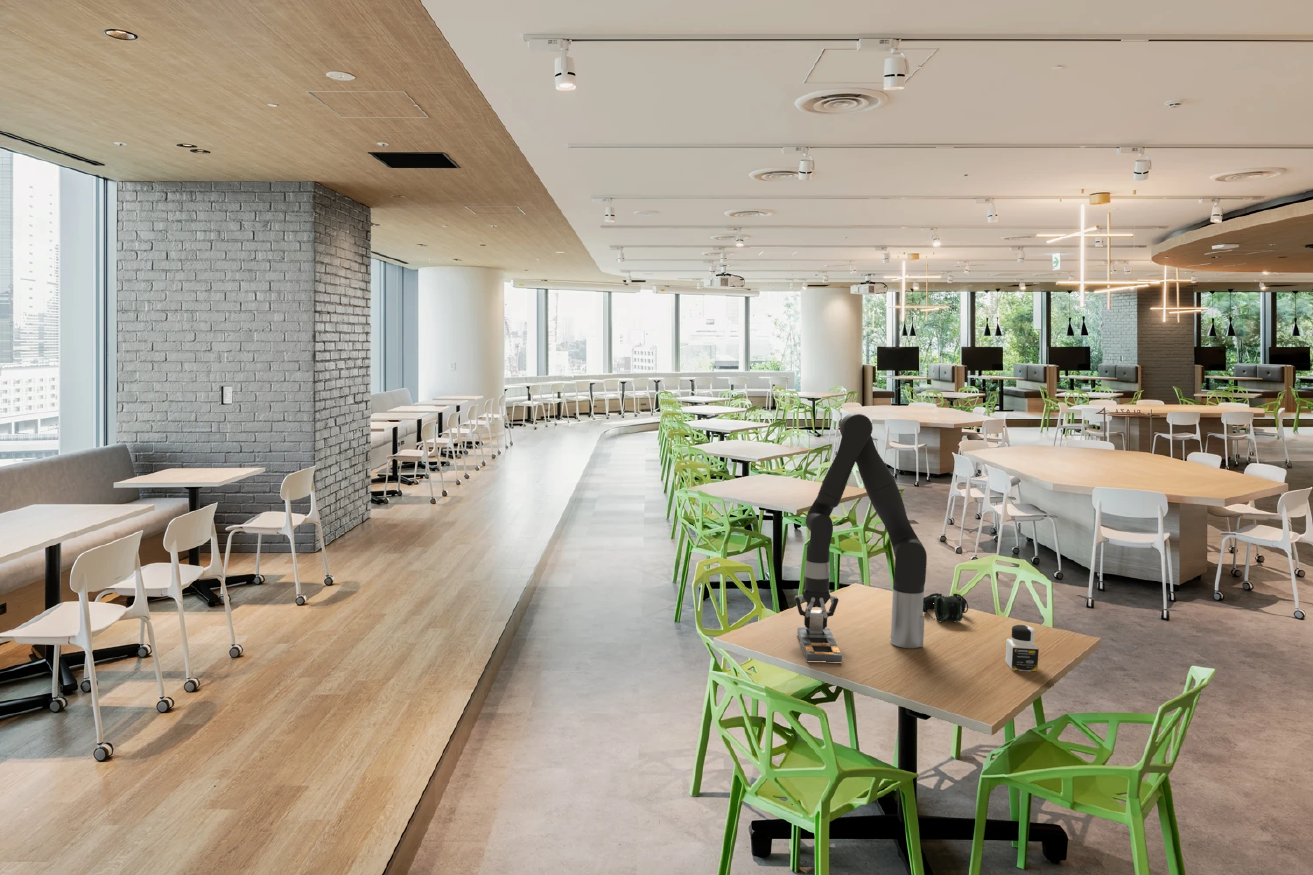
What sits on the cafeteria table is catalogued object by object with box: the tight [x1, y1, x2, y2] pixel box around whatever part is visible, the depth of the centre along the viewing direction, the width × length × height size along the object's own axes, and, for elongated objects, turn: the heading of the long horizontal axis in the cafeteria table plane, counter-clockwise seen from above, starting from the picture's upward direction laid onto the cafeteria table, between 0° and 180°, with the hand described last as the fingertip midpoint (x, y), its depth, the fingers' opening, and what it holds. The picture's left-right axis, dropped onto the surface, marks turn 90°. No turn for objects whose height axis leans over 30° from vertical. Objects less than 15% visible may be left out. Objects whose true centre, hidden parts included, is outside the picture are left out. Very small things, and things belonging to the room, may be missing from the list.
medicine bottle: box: [1005, 624, 1040, 672], centre depth 247 cm, size 7×7×12 cm
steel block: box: [808, 609, 823, 635], centre depth 268 cm, size 4×4×9 cm
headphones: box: [923, 592, 969, 622], centre depth 294 cm, size 13×13×20 cm
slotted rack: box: [796, 626, 843, 662], centre depth 260 cm, size 10×25×3 cm, turn 177°
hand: (815, 628), depth 268 cm, fingers open, 4 cm apart
